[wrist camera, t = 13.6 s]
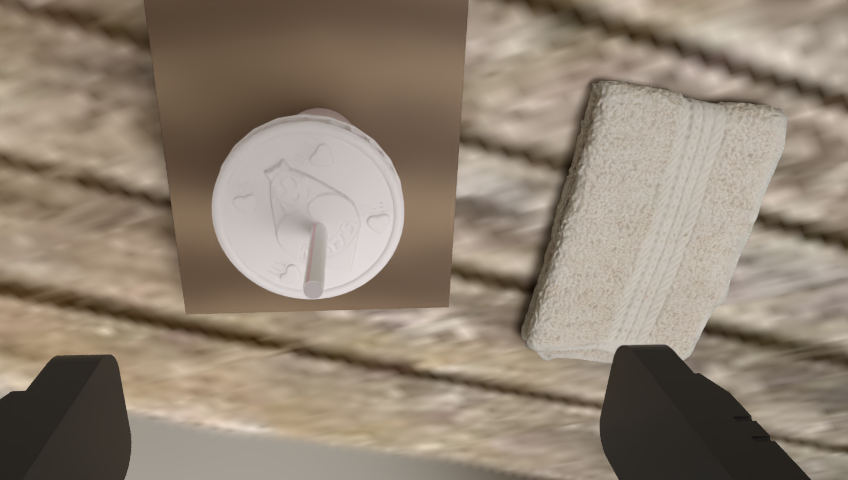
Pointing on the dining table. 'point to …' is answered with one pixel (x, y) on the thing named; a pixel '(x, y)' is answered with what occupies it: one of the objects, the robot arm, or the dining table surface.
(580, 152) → the washcloth
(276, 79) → the walnut base
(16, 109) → the dining table surface
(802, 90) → the dining table surface
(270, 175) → the smoothie
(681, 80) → the dining table surface
